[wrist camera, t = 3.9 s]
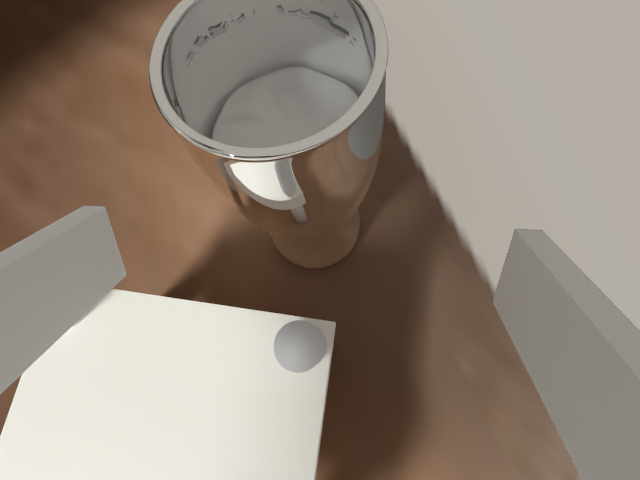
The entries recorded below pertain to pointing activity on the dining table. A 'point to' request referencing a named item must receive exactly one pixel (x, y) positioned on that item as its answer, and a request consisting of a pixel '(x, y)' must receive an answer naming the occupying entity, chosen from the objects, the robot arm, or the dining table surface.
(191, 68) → the silver metal goblet
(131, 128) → the dining table surface
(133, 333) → the shelf stand
